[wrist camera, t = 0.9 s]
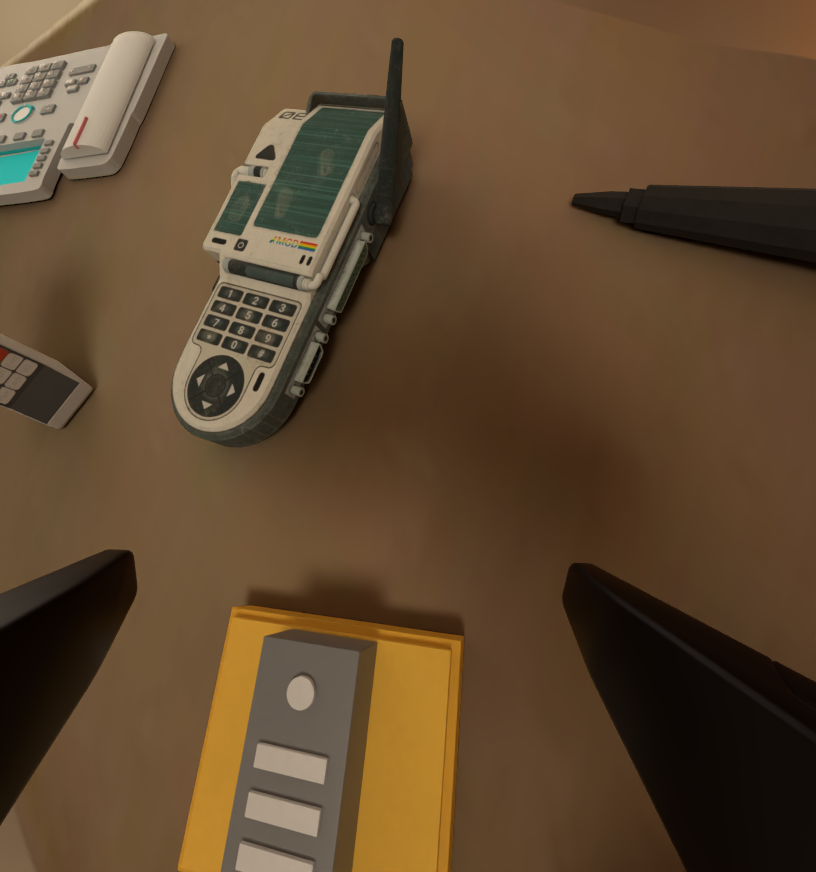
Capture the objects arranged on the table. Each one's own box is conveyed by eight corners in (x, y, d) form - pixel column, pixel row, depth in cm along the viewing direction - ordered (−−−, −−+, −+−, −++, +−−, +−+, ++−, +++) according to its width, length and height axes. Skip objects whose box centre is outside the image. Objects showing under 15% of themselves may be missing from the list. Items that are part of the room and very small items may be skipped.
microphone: (562, 262, 29) (971, 334, 20) (550, 218, 24) (1091, 288, 15) (594, 184, 28) (1028, 222, 20) (588, 121, 23) (1173, 135, 14)
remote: (346, 919, 16) (316, 984, 14) (248, 887, 18) (203, 942, 15) (378, 641, 19) (357, 652, 17) (292, 628, 20) (260, 636, 18)
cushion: (448, 926, 17) (441, 968, 15) (200, 848, 20) (169, 876, 18) (464, 636, 20) (460, 642, 19) (249, 604, 23) (227, 607, 21)
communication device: (154, 418, 29) (16, 359, 21) (303, 155, 34) (237, 23, 26) (293, 477, 25) (190, 433, 17) (439, 171, 30) (412, 22, 22)
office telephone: (158, 14, 41) (92, 167, 36) (177, 45, 44) (118, 194, 38) (-16, 54, 47) (-98, 193, 41) (10, 80, 49) (-64, 214, 43)
